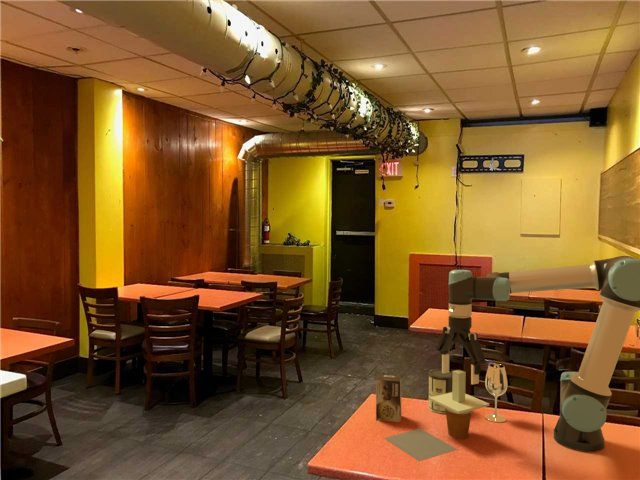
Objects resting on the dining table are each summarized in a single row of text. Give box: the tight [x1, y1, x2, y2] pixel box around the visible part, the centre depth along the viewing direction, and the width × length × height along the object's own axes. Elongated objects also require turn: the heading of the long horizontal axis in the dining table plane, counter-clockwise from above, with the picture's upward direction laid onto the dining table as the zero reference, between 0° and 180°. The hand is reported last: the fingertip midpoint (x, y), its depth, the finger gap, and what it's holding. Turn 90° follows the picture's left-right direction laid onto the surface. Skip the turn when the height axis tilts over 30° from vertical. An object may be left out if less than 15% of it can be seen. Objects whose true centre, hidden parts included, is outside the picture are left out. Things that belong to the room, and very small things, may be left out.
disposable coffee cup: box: [445, 408, 473, 440], centre depth 170 cm, size 10×10×12 cm
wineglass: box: [484, 363, 508, 423], centre depth 186 cm, size 8×8×20 cm
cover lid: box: [428, 369, 490, 414], centre depth 169 cm, size 14×14×11 cm
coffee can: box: [427, 369, 453, 415], centre depth 195 cm, size 10×10×14 cm
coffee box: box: [375, 374, 402, 423], centre depth 184 cm, size 9×6×16 cm
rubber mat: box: [383, 428, 459, 462], centre depth 163 cm, size 18×16×1 cm
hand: (459, 378), depth 169 cm, fingers open, 13 cm apart
